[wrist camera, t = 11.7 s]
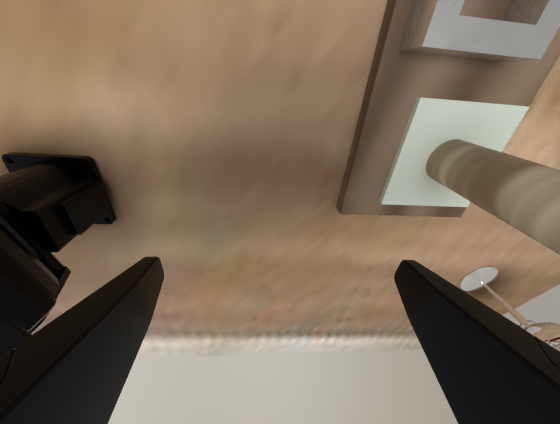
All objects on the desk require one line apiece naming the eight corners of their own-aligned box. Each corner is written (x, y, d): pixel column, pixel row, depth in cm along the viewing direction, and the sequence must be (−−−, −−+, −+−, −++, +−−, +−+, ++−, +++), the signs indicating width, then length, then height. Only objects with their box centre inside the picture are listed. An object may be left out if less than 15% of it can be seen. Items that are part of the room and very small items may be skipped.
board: (336, 207, 22) (340, 213, 21) (430, -169, 11) (447, -194, 10) (452, 211, 24) (460, 217, 23) (645, -123, 12) (679, -141, 11)
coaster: (378, 201, 21) (381, 204, 21) (416, 96, 16) (420, 97, 16) (463, 204, 22) (467, 207, 21) (522, 106, 17) (529, 106, 17)
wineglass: (515, 270, 30) (644, 369, 20) (473, 299, 33) (567, 398, 23) (484, 256, 28) (610, 358, 18) (443, 288, 31) (531, 391, 21)
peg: (407, 175, 19) (664, 346, 7) (448, 121, 17) (933, 232, 5) (446, 193, 20) (721, 366, 8) (489, 145, 18) (955, 284, 6)
